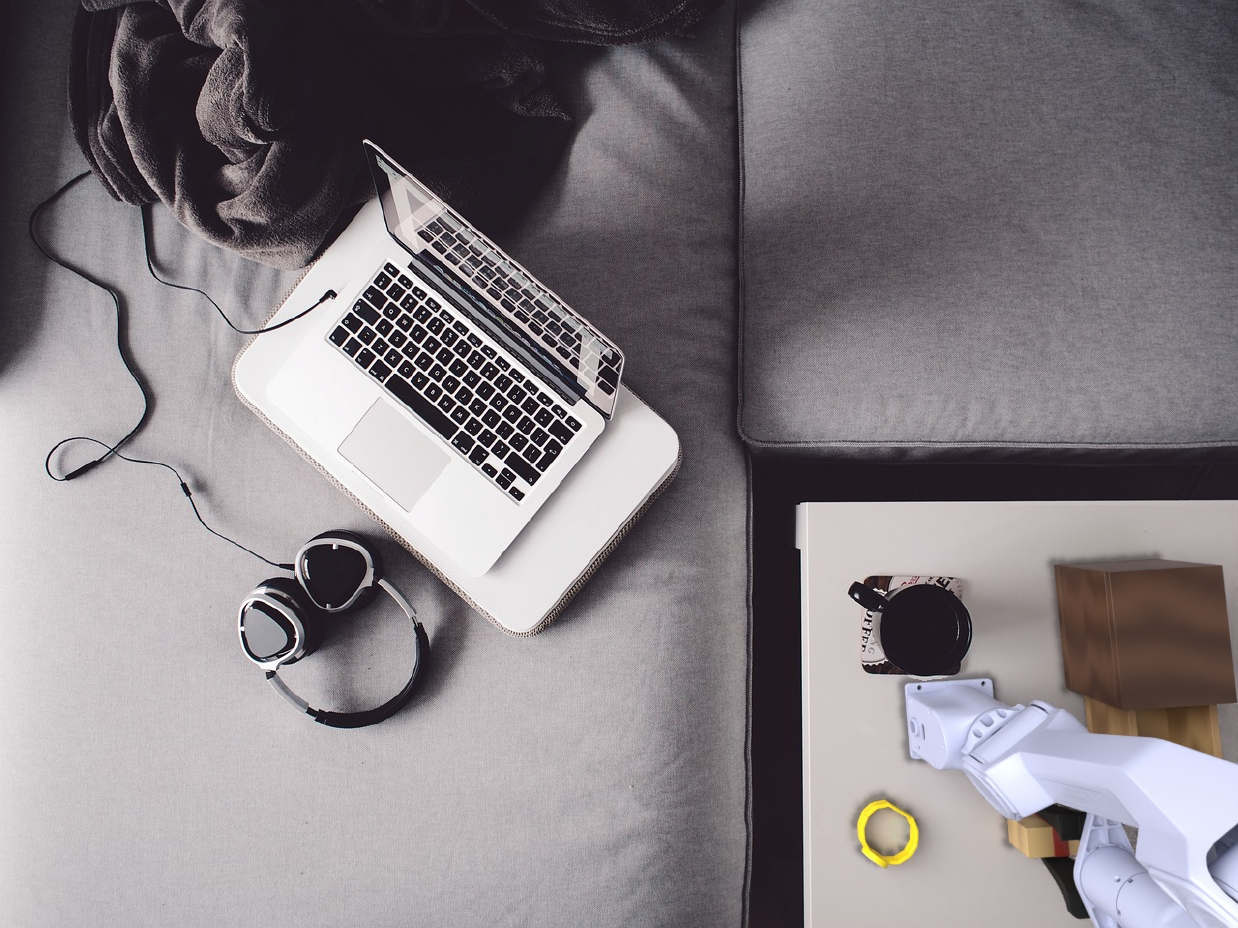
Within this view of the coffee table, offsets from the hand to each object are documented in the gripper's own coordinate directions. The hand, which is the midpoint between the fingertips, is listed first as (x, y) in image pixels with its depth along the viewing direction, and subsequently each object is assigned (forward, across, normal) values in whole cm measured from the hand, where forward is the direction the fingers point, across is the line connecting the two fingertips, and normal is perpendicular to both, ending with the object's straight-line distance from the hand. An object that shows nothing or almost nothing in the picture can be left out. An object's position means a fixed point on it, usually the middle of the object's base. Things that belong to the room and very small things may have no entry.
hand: (1047, 831), depth 73 cm
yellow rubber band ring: (0, +3, +15) cm, 16 cm away
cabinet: (+1, +21, -10) cm, 23 cm away
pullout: (+1, +10, -10) cm, 14 cm away
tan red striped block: (+1, 0, 0) cm, 1 cm away
